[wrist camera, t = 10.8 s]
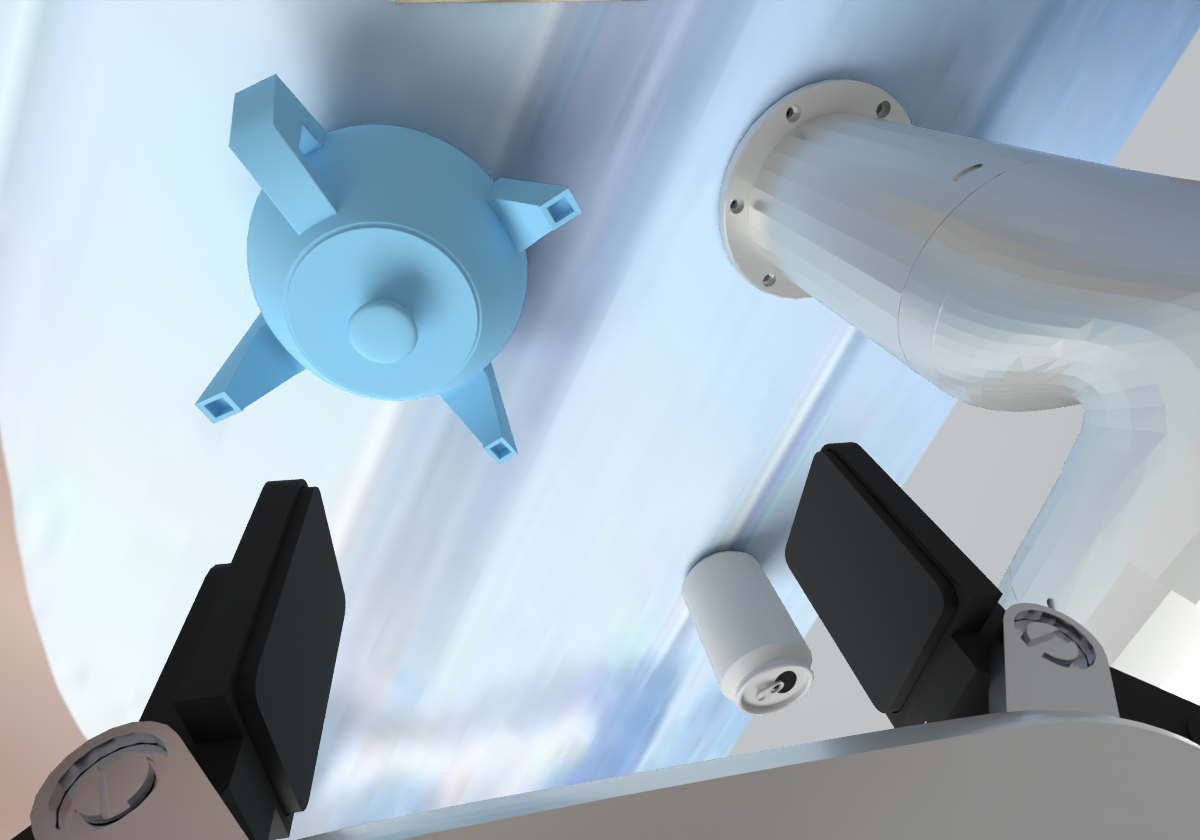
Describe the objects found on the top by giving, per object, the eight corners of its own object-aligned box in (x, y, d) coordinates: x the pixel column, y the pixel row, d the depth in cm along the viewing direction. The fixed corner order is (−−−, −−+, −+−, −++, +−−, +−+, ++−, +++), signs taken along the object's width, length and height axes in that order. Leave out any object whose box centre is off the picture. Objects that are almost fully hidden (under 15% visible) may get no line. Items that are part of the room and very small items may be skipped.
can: (756, 590, 57) (820, 706, 47) (681, 611, 57) (730, 734, 47) (756, 534, 53) (826, 650, 43) (675, 557, 52) (728, 679, 42)
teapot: (570, 162, 33) (615, 210, 24) (502, 393, 40) (517, 495, 31) (263, 57, 28) (177, 69, 19) (245, 343, 35) (175, 450, 26)
